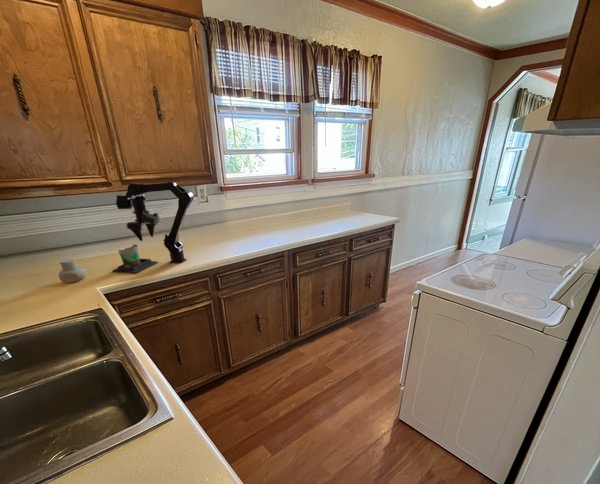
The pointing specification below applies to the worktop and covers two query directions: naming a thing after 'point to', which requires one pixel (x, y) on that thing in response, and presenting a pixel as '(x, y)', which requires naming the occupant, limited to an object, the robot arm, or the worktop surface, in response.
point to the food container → (130, 256)
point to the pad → (144, 264)
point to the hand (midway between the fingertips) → (146, 238)
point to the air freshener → (71, 271)
